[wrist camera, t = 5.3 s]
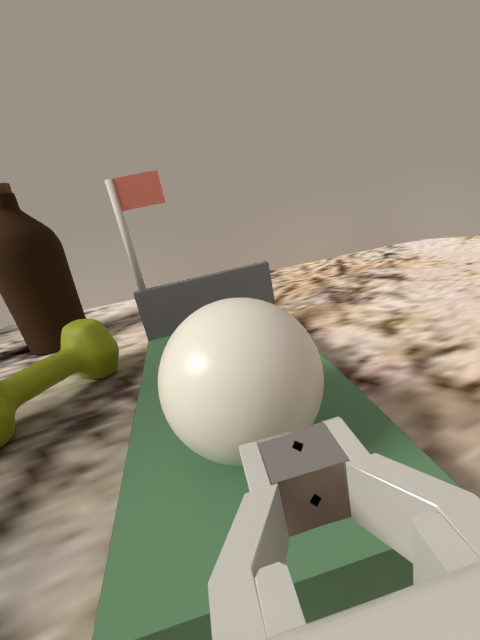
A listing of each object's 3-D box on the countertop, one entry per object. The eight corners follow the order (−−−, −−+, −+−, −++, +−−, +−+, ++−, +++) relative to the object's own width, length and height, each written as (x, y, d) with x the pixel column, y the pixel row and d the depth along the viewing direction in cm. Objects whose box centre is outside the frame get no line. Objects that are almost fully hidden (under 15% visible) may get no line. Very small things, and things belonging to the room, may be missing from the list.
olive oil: (72, 352, 50) (0, 175, 42) (11, 361, 52) (-71, 193, 43) (105, 325, 60) (52, 178, 51) (53, 333, 62) (-7, 192, 53)
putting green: (484, 564, 14) (542, -73, 7) (116, 700, 13) (-289, 32, 5) (277, 328, 43) (247, 153, 36) (156, 359, 42) (99, 182, 34)
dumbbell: (93, 364, 45) (74, 314, 42) (134, 370, 40) (115, 315, 38) (-49, 449, 32) (-89, 385, 29) (-12, 470, 28) (-55, 398, 25)
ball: (251, 547, 14) (202, 362, 11) (155, 453, 21) (108, 321, 18) (363, 430, 19) (351, 281, 16) (257, 385, 26) (234, 273, 23)
